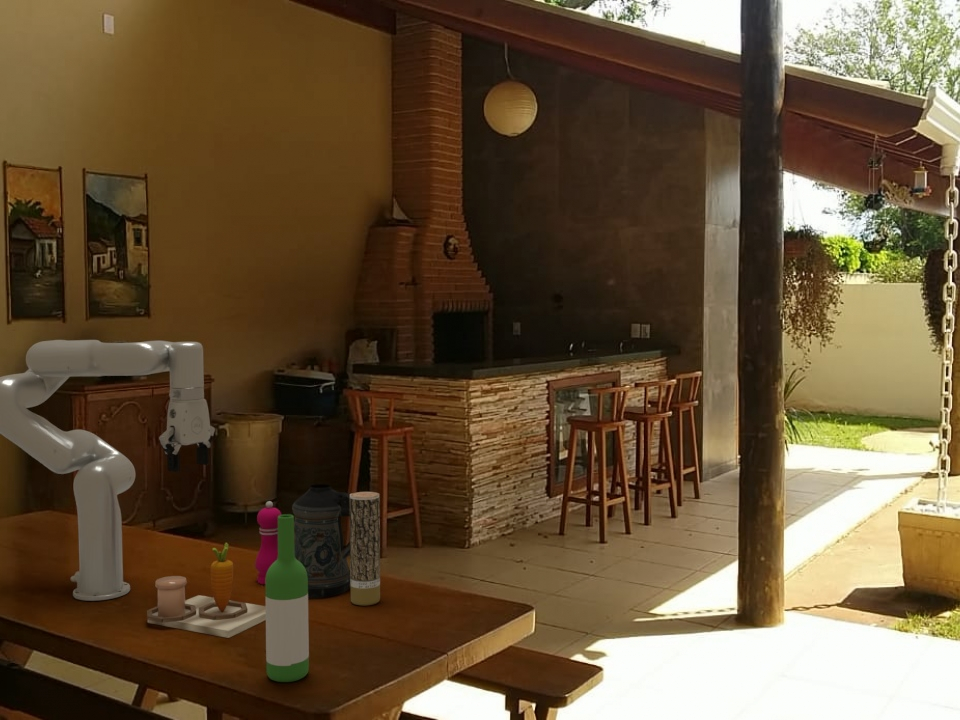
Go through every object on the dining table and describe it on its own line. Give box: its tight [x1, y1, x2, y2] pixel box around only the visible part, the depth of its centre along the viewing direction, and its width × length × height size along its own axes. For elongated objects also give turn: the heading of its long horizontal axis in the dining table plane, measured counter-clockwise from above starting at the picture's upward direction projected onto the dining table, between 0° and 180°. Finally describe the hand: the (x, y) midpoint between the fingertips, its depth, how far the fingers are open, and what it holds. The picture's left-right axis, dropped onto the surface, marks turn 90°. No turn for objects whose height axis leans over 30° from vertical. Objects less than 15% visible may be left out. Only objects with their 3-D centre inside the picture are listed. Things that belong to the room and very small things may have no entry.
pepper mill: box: [254, 500, 282, 586], centre depth 235 cm, size 7×7×20 cm
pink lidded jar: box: [154, 575, 188, 617], centre depth 206 cm, size 6×6×8 cm
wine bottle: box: [264, 513, 310, 683], centre depth 176 cm, size 8×8×30 cm
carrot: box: [210, 542, 234, 612], centre depth 208 cm, size 5×5×15 cm
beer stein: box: [291, 484, 351, 599], centre depth 230 cm, size 16×19×25 cm
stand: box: [146, 594, 266, 639], centre depth 207 cm, size 23×18×2 cm
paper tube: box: [349, 491, 381, 607], centre depth 219 cm, size 7×7×25 cm
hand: (188, 467), depth 223 cm, fingers open, 9 cm apart
